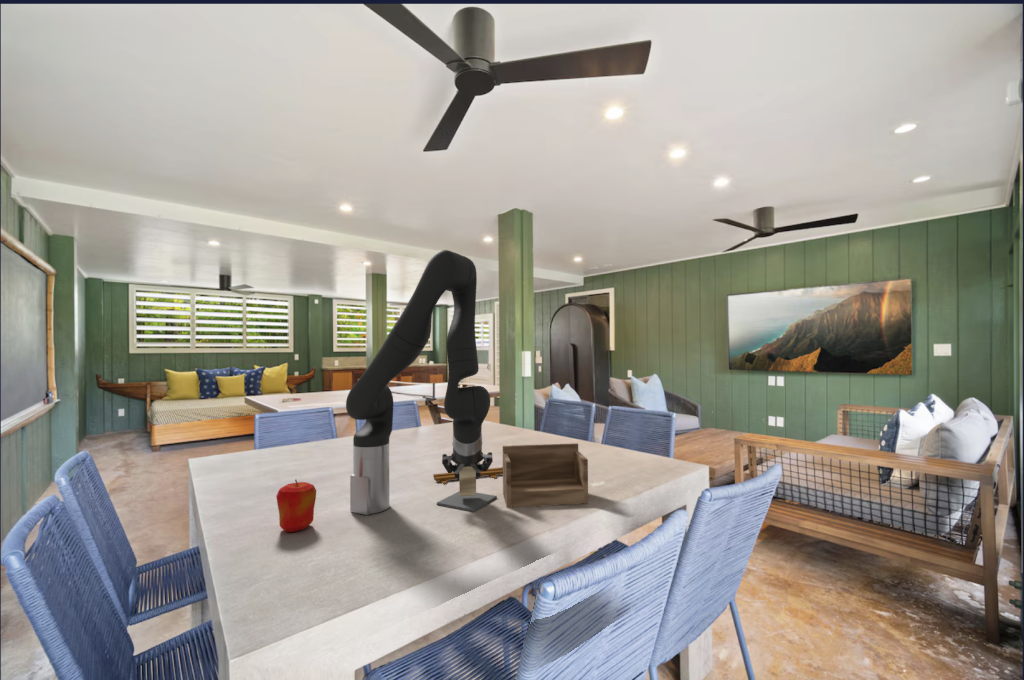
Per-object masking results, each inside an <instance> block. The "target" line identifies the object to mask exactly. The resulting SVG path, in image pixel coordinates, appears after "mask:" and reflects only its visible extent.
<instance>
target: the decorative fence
mask: <svg viewBox="0 0 1024 680" xmlns="http://www.w3.org/2000/svg"><path fill="white" fill-rule="evenodd" d="M498 475H503V466H501V467H493V468H491V467H489V468H488V470H487V471H486V472H484V471H481V473H480V477H486V476H489V477H490V478H491V479H493V478H494V480H495V479H497V478H498ZM432 477H433V479H434V480H435V482H439V483H440V484H442V483H443V484H442V485H447V484H448V481H451V480H452V481H453V480H457V478H455V473H454V472H452V473H448V472H445V473H442V472H441V473H434V474H433V475H432ZM446 483H447V484H446Z"/></svg>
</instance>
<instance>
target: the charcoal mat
mask: <svg viewBox="0 0 1024 680" xmlns="http://www.w3.org/2000/svg"><path fill="white" fill-rule="evenodd" d="M495 499H498V498H497V495H494V494H493V495H492V494H487V493H481V492H476V496H460V490H458V491H457V492H455V493H453V494H451V495H449V496H447V497H445V498H443V499H441V500H439V501H437V502H436V506H440V505H441V506H442V507H445V506H446V507H447V508H452V509H456V510H460V511H461V510H462V511H466V512H467V511H468V512H472V513H474V512H476V511H478V510H480V509H481V508H483V507H485V506H486V505H488V504H489V503H491V502H493V501H494V500H495ZM484 505H485V506H484Z"/></svg>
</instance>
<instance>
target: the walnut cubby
mask: <svg viewBox="0 0 1024 680" xmlns="http://www.w3.org/2000/svg"><path fill="white" fill-rule="evenodd" d="M502 467H503V474H502V495H503V499H504V503H505V506H506V508H522V507H523V508H525V507H524V506H526V507H543V506H542V505H547V506H559V505H558V504H568V505H582V504H581V503H588V504H589V460H588V458H587V457H586V456H585V455H583V454H582V453H581V452H580V451H579V443H553V444H552V443H551V444H549V443H548V444H544V443H543V444H521V445H520V444H519V445H516V444H515V445H502Z"/></svg>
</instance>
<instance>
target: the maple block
mask: <svg viewBox="0 0 1024 680" xmlns="http://www.w3.org/2000/svg"><path fill="white" fill-rule="evenodd" d="M458 481H459V484H458V485H459V491H460V496H476V493H477V479H476V471H475V470H474V469H473V468H472V467H469V466H467V467H463V468H462V470H461V471H460V472H459V480H458Z"/></svg>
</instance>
